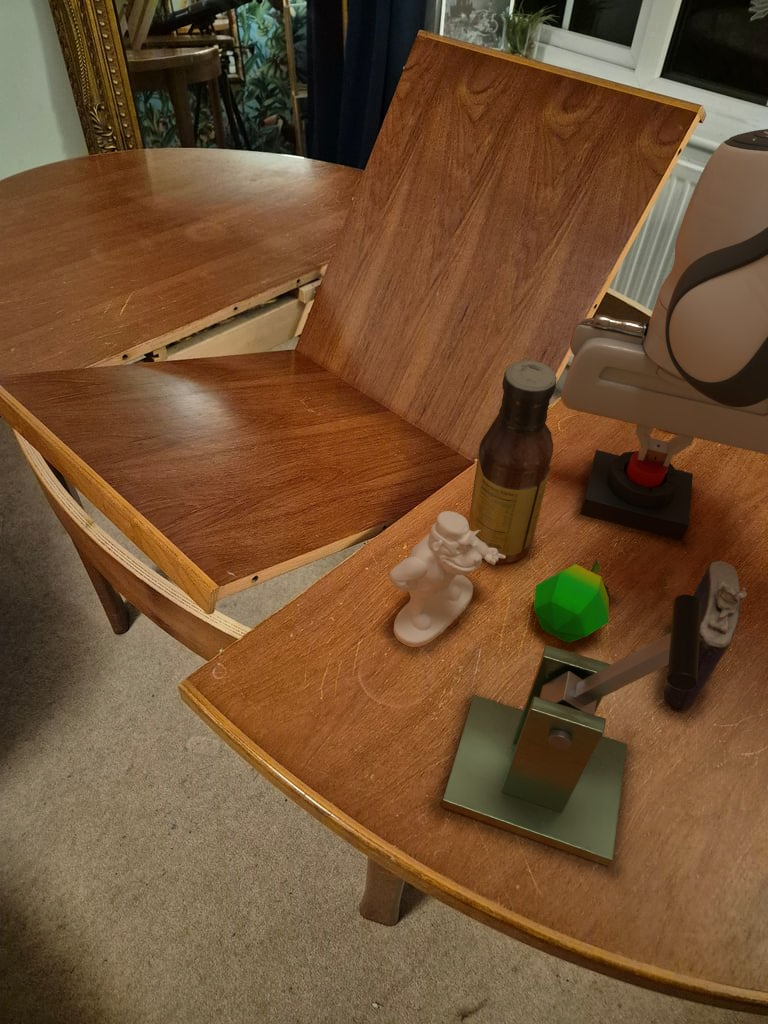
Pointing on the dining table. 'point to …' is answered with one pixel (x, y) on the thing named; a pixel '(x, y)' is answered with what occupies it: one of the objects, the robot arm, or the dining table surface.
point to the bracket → (542, 767)
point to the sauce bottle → (514, 462)
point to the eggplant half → (711, 627)
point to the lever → (639, 663)
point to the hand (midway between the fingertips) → (653, 459)
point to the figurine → (438, 578)
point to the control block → (637, 497)
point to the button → (645, 472)
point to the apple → (572, 603)
